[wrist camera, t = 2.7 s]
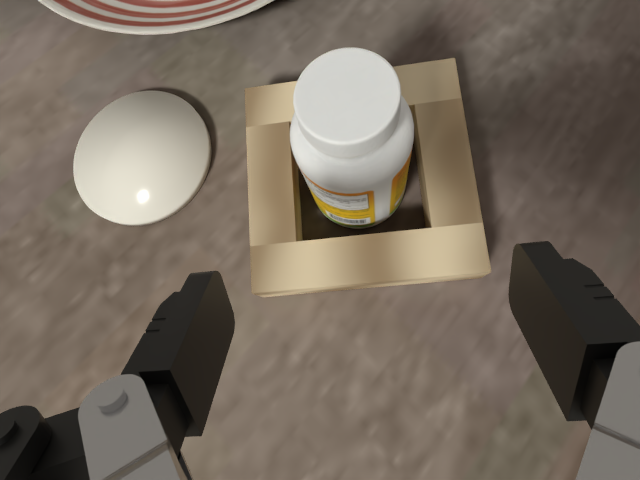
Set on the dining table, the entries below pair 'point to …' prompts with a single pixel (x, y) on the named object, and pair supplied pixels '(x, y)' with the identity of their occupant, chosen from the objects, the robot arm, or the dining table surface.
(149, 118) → the pale ceramic coaster
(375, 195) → the supplement bottle
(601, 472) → the robot arm
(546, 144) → the dining table surface
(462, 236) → the birch pocket block
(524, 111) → the dining table surface
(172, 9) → the dinner plate
